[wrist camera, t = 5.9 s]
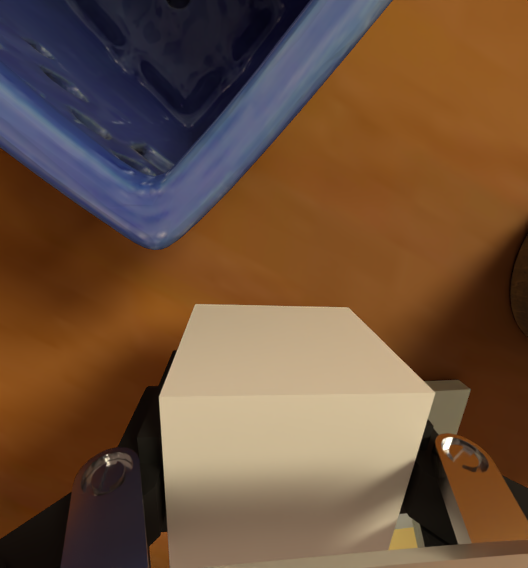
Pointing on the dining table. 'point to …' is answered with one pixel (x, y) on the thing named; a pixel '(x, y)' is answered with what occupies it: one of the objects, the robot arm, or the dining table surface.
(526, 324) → the wooden container
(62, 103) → the flower pot
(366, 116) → the dining table surface
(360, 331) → the cream brick
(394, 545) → the mustard brick
